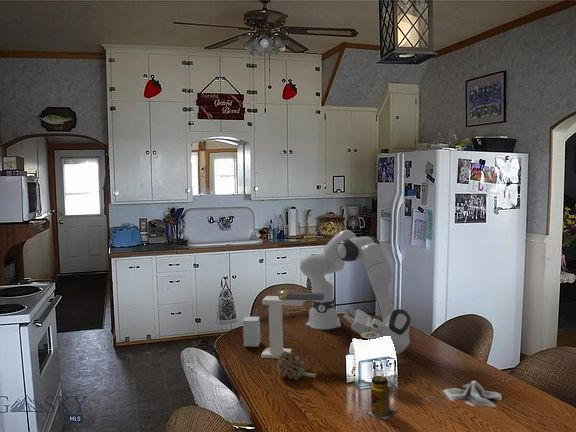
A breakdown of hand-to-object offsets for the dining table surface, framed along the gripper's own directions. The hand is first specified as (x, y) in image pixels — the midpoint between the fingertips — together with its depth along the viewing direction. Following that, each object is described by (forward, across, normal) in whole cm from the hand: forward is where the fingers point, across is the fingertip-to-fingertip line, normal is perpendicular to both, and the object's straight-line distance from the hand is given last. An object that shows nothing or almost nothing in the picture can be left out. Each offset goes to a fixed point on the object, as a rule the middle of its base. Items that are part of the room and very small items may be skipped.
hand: (345, 312), depth 220 cm
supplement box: (+30, -12, +41) cm, 52 cm away
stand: (+13, 0, +32) cm, 34 cm away
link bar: (+19, 0, +5) cm, 20 cm away
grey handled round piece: (+4, +26, +26) cm, 37 cm away
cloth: (-54, +32, -6) cm, 63 cm away
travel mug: (-21, +22, +12) cm, 32 cm away
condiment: (-25, +48, +10) cm, 55 cm away
